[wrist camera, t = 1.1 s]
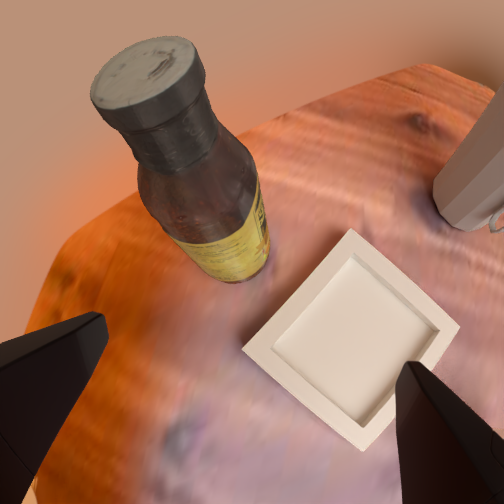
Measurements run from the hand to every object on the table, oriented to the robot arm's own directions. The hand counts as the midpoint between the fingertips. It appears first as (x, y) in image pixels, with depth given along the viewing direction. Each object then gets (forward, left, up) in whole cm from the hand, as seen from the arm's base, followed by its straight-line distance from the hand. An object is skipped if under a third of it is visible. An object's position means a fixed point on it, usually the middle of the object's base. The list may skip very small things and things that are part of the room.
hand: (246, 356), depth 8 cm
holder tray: (+5, -5, -17) cm, 19 cm away
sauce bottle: (+4, +8, -17) cm, 20 cm away
